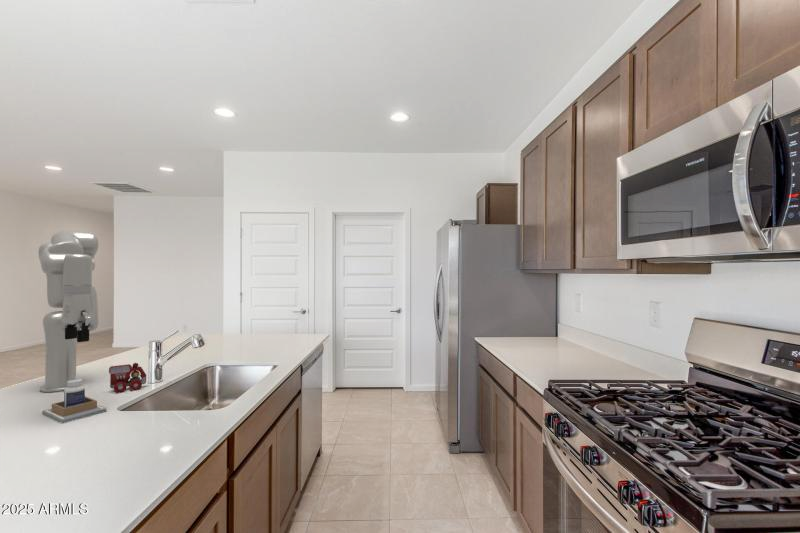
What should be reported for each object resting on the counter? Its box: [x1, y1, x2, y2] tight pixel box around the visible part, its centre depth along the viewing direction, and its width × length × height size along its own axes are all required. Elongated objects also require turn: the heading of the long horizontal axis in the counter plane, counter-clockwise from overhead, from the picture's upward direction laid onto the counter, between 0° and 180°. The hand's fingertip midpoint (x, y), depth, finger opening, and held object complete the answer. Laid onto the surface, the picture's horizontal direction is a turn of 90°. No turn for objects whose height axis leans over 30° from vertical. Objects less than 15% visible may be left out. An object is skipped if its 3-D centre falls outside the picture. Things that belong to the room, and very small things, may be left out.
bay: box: [41, 395, 107, 424], centre depth 129 cm, size 16×12×4 cm
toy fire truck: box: [108, 362, 147, 394], centre depth 155 cm, size 7×12×10 cm, turn 129°
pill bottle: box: [63, 378, 86, 408], centre depth 130 cm, size 5×5×10 cm
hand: (76, 340), depth 131 cm, fingers open, 9 cm apart
